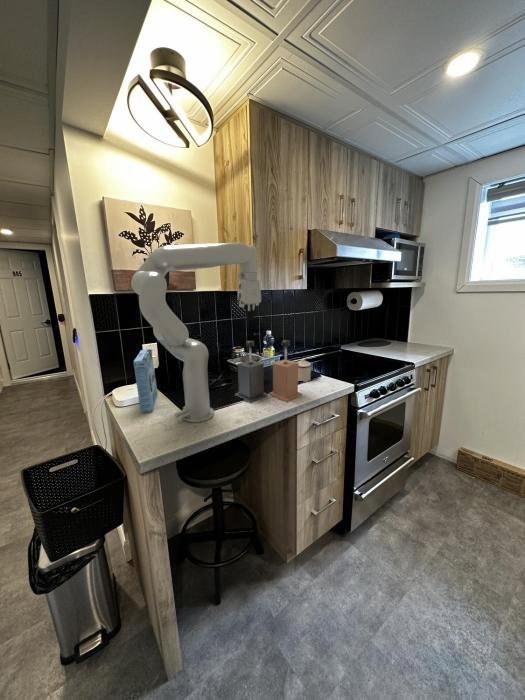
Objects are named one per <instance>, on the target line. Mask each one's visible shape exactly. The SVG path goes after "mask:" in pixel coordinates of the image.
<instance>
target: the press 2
mask: <svg viewBox="0 0 525 700" xmlns="http://www.w3.org/2000/svg"><path fill="white" fill-rule="evenodd" d="M297 362H298V361H294V360H293V361H292V360H288V359H287V364H285V359H282V360H279V361H275V362H272V391H271V392H269V393H268V395H269V396H270V397H272V398H275V399H277V400H279V401H282V402H284V403H288V401H289V402H291V401H292V400H295V399H297V398H300V397H301V396H302V395H303V394H302V392H299V390H298V389H299V381H298V365H299V363H297Z"/></svg>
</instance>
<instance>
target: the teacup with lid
mask: <svg viewBox="0 0 525 700" xmlns="http://www.w3.org/2000/svg"><path fill="white" fill-rule="evenodd" d="M296 362H297V363H299V365H298V382H299V381H303V382H302V383H307V382H309V381H311V376H312V375H311V373H312V363H311V362H309V361H307V360H306V359H305V358H301V360H298V361H296Z"/></svg>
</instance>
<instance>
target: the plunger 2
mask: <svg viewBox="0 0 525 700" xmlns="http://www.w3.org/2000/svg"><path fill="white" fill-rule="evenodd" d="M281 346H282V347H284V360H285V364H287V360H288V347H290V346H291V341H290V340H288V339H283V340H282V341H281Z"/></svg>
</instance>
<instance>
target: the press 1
mask: <svg viewBox="0 0 525 700" xmlns="http://www.w3.org/2000/svg"><path fill="white" fill-rule="evenodd" d="M264 365H265V363H264V362H263V363H262V362H261V361H260V362H257V361H254V360H252V364H251V365H249V361H246V362H242V363H241V362H239V363H237V372H238V373H237V376H238V377H237V379H238V382H237V383H238V392H235V393H234V396H235V397H236V396H238V397H240V398H243V399H244V400H243V401H244V402H246V403H249V404H252V403H254V402H257V401H259V400H261V399H264V398H266V397H268V395H269V393H266V392H264V391H265V390H264V387H265V386H264V381H265V379H264ZM238 397H237V398H238ZM240 398H239V399H240Z"/></svg>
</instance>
